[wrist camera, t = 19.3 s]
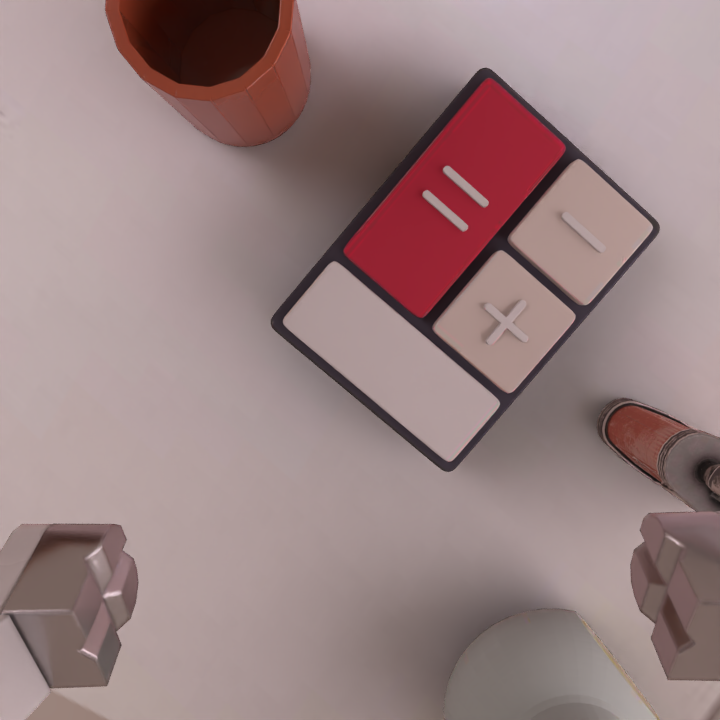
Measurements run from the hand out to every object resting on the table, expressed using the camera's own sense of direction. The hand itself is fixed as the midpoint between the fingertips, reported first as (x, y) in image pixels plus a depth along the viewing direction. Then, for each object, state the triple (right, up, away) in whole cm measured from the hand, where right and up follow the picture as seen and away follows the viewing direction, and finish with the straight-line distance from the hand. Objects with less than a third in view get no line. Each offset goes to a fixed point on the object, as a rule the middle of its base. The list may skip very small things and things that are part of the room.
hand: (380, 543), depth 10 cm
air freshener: (+9, -14, +25) cm, 30 cm away
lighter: (+16, -2, +23) cm, 28 cm away
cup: (-6, +17, +21) cm, 27 cm away
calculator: (+4, +7, +22) cm, 24 cm away
